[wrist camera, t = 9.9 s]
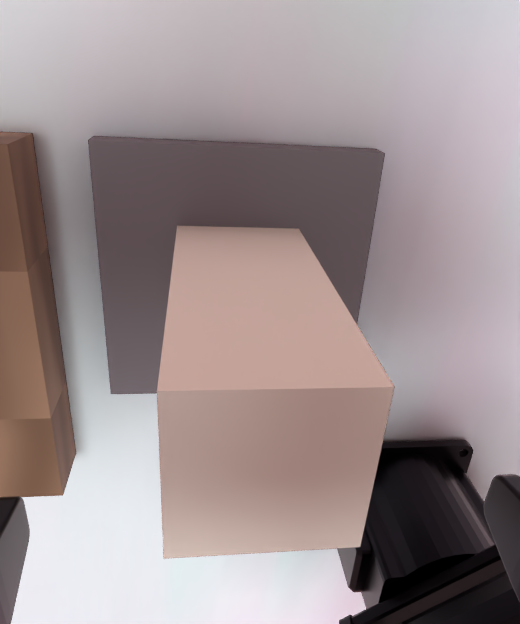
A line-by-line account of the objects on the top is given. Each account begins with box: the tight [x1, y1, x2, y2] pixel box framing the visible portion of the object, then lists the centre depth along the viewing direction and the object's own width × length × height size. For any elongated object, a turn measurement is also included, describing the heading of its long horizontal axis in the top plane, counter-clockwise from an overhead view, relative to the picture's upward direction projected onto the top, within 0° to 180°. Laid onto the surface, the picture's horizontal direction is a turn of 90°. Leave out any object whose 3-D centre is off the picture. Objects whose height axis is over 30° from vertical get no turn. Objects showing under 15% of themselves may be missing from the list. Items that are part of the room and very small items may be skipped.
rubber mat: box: [88, 136, 385, 394], centre depth 19 cm, size 10×10×1 cm
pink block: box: [157, 226, 395, 559], centre depth 15 cm, size 4×4×10 cm
